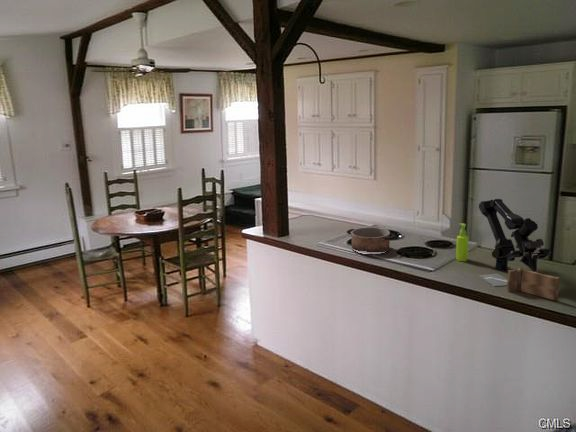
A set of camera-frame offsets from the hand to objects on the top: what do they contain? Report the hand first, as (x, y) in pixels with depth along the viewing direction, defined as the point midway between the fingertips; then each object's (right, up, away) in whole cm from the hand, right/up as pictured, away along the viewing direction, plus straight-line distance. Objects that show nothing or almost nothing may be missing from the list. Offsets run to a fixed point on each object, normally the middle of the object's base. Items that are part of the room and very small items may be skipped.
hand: (535, 271), depth 206 cm
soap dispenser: (-17, +1, +44) cm, 47 cm away
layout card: (-12, -6, +13) cm, 18 cm away
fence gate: (-2, -10, -7) cm, 12 cm away
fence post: (-10, -9, 0) cm, 13 cm away
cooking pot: (-63, +5, +67) cm, 92 cm away
